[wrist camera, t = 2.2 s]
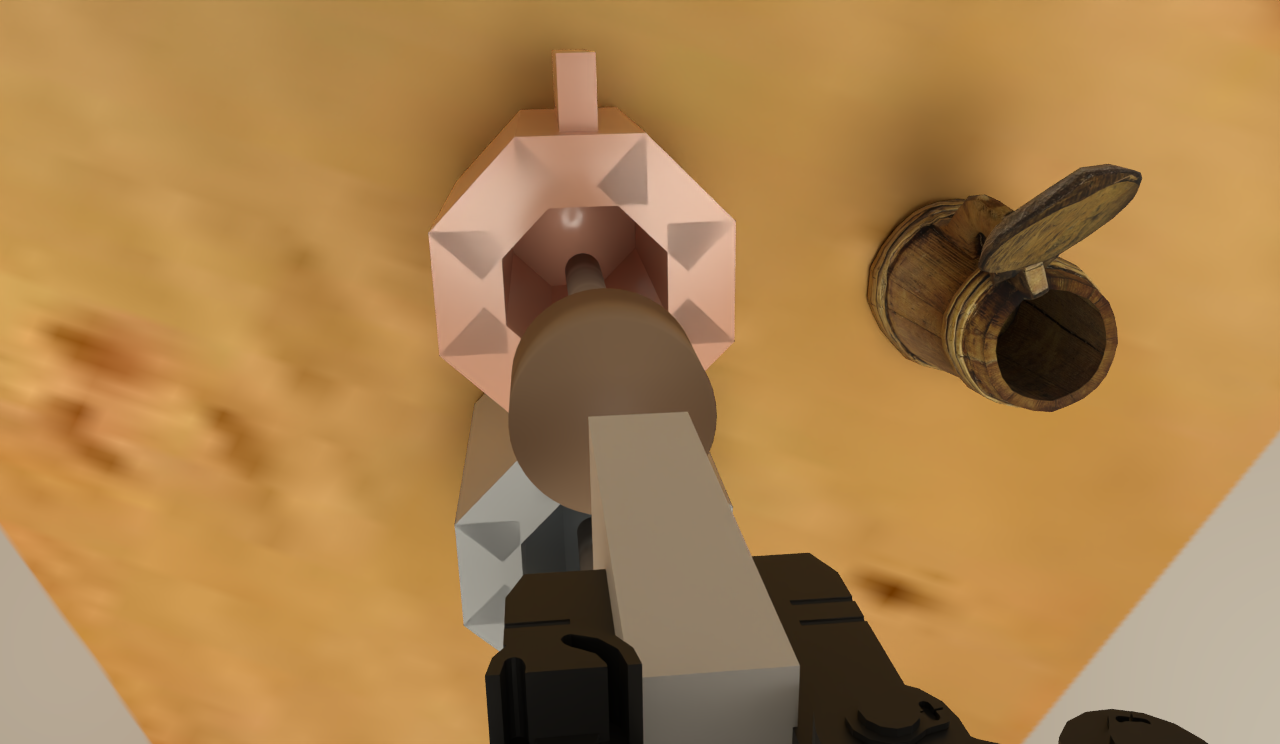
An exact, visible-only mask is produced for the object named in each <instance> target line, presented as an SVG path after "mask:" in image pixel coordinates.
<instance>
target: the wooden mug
mask: <svg viewBox="0 0 1280 744" xmlns="http://www.w3.org/2000/svg"><path fill="white" fill-rule="evenodd" d="M1141 180H1142V176H1141V173H1140V172H1137V171H1134V170H1131V169H1127V168H1123V167H1120V166H1116V165H1111V164H1104V165H1097V166H1089V167H1081V168H1079V169H1078V170H1076V171H1074V172H1073V173H1071V174H1070V175H1068V176H1067V177H1065V178H1064V179H1062V180H1060V181H1059V182H1057V183H1056V184H1054V185H1053V186H1051V187H1050V188H1048V189H1047V190H1045V191H1044V192H1042V193H1041V194H1039V195H1038V196H1036V197H1035V198H1033V199H1032V200H1030V201H1029V202H1027V203H1026V204H1025V205H1023V206H1022V207H1020V208H1019V209H1017V210H1016V211H1013V210H1012V209H1010V208H1009V207H1007V206H1006V205H1004V204H1003V203H1001V202H1000V201H998V200H996V199H994V198H991V197H989V196H987V195H975V196H969V197H968V198H967V199H966V200H962V199H955V200H947V201H940V202H937V203H933V204H930V205H927V206H924V207H922V208H921V209H919V210H917V211H915V212H913V213H912V214H911V215H910V216H909V217H908V218H907V219H905V220H904V221H903V222H902V223H901V224H900V225H899V226H898V227H896V229H895V230H894V231H893V233H892V234H891V235H890V236H889V238H888V239H887V240H886V242H885V243H884V244H883V245H882V247H881V248H880V250H879V252H878V254H877V256H876V258H875V260H874V262H873V264H872V266H871V268H870V278H869V289H868V302H869V305H870V307H871V310H872V312H873V315H874V317H875V319H876V321H877V323H878V325H879V327H880V329H881V331H882V332H883V333H884V334H885V335H886V336H887V338H888V339H889V340H890V341H891V343H892V344H893V345H894V346H895V347H896V348H897V349H898V350H899V351H900V353H901V354H902V355H903V356H904V357H905V358H906V359H909V360H911V361H913V362H916V363H918V364H920V365H923V366H926V367H930V368H934V369H938V370H942V371H946V372H948V373H950V374H953V375H955V376H957V377H959V378H960V379H961V380H962V381H963V382H964V383H965V384H966V386H967V387H968V388H970V389H972V390H974V391H975V392H977V393H979V394H980V395H982V396H984V397H986V398H988V399H990V400H992V401H994V402H996V403H1000V404H1004V405H1008V406H1013V407H1022V408H1026V409H1029V410H1033V411H1046V412H1053V411H1056V410H1058V409H1061V408H1064V407H1066V406H1069V405H1071V404H1073V403H1075V402H1077V401H1079V400H1081V399H1083V398H1085V397H1086V396H1087V395H1088V394H1090V393H1091V392H1092V391H1093V390H1095V389H1096V388H1097V387H1098V386H1099V384H1100V383H1101V382H1102V380H1103V379H1104V378H1105V377H1106V375H1107V373H1108V371H1109V368H1110V366H1111V364H1112V361H1113V359H1114V355H1115V351H1116V347H1117V344H1118V339H1117V327H1116V322H1115V317H1114V314H1113V311H1112V309H1111V306H1110V304H1109V302H1108V301H1107V300H1106V299H1105V297H1104V296H1103V295H1102V294H1101V292H1100V290H1099V289H1098V287H1097V286H1096V285H1095V284H1094V283H1093V282H1092V281H1091V280H1090V279H1089V277H1088V276H1087V275H1086V274H1085V273H1084V272H1083V271H1082V270H1081V269H1080V268H1079V267H1077V266H1076V265H1074V264H1072V263H1070V262H1068V261H1066V260H1064V259H1062V258H1060V257H1058V256H1059V254H1061V253H1062V252H1064V251H1065V250H1067V249H1069V248H1070V247H1072V246H1073V245H1075V244H1077V243H1078V242H1080V241H1081V240H1083V239H1085V238H1086V237H1088V236H1089V235H1090V234H1092V233H1093V232H1095V231H1096V230H1097V229H1099V228H1100V227H1101V226H1103V225H1104V224H1106V223H1107V222H1108V221H1110V220H1111V219H1113V218H1114V217H1115V216H1116V215H1117V214H1118V213H1119V212H1120V211H1121V210H1122V209H1123V208H1125V207H1126V206H1127V205H1128V203H1129V202H1130V201H1131V200H1132V199H1133V198H1134V196H1135V195H1136V193H1137V191H1138V188H1139V186H1140V183H1141Z"/></svg>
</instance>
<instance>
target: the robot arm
mask: <svg viewBox="0 0 1280 744" xmlns="http://www.w3.org/2000/svg"><path fill="white" fill-rule="evenodd" d="M588 422H589V452H590V482H591V512H592V542H593V570H583V571H568V572H552V573H537V574H524V575H523V576H522V577H521V579H520V580H519V581H518V582H517V584H516V585H515V586H514V587H513V589H512V590H511V591H510V593H509V594H508V595H507V596H506V598H505V617H504V637H503V649H502V650H501V651H499V652H498V653H497V654H496V655H495V656H494V657H493V658H492V660H491V662H490V665H489V667H488V670H487V672H486V675H485V682H486V696H487V710H488V723H489V737H490V744H998V743H993V742H989V741H984V740H979V739H976V738H973V737H971V736H970V735H969V733H968V732H967V730H966V729H965V727H964V725H963V724H962V722H961V721H960V719H959V718H958V717H957V716H956V715H955V714H954V713H953V712H952V711H951V710H950V709H949V708H948V707H947V706H946V705H945V704H944V703H943V702H942V701H941V700H939V699H937V698H935V697H933V696H931V695H930V694H928V693H926V692H924V691H922V690H920V689H918V688H914V687H911V686H907V685H905V684H904V683H903V681H902V679H901V678H900V676H899V674H898V673H897V671H896V669H895V668H894V666H893V664H892V663H891V661H890V659H889V658H888V656H887V654H886V652H885V651H884V649H883V647H882V646H881V644H880V642H879V641H878V639H877V637H876V636H875V634H874V632H873V631H872V629H871V627H870V626H869V624H868V622H867V621H864V616H863V614H862V612H861V611H860V609H859V607H858V605H857V604H856V602H855V601H852V595H851V594H850V592H849V590H848V589H847V587H846V585H845V584H844V582H843V580H842V579H841V577H840V575H839V574H838V572H837V571H835V570H834V569H832V568H831V567H829V566H828V565H826V564H825V563H823V562H822V561H820V560H819V559H817V558H816V557H815V556H813V555H812V554H810V553H798V554H783V555H767V556H751V554H750V552H749V549H748V547H747V545H746V543H745V540H744V538H743V536H742V533H741V531H740V529H739V527H738V524H737V522H736V520H735V518H734V515H733V513H732V511H731V509H730V506H729V504H728V502H727V500H726V497H725V495H724V493H723V491H722V488H721V486H720V484H719V481H718V479H717V477H716V475H715V472H714V470H713V468H712V466H711V463H710V461H709V459H708V457H707V454H706V452H705V450H704V448H703V445H702V443H701V441H700V438H699V436H698V434H697V432H696V429H695V427H694V425H693V423H692V420H691V418H690V416H689V414H688V412H671V413H651V414H631V415H612V416H592V417H588ZM1059 744H1208V743H1206V742H1205V741H1204V740H1202V739H1201V738H1199V737H1197V736H1195V735H1194V734H1192V733H1190V732H1188V731H1186V730H1185V729H1183V728H1181V727H1179V726H1178V725H1176V724H1174V723H1171V722H1168V721H1165V720H1162V719H1159V718H1156V717H1153V716H1150V715H1147V714H1144V713H1138V712H1133V711H1123V710H1115V709H1108V710H1099V711H1090V712H1085V713H1083V714H1081V715H1079V716H1077V717H1075V718H1073V719H1072V720H1070V721H1068V722H1067V723H1066V725H1065V727H1064V729H1063V731H1062V733H1061V735H1060V737H1059Z"/></svg>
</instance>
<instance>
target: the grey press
mask: <svg viewBox="0 0 1280 744" xmlns="http://www.w3.org/2000/svg"><path fill="white" fill-rule="evenodd" d="M508 414H509V413H508V412H507V411H506V410H505V409H504V408H502V407H501V406H500V405H499V404H498V403H496V402H495V401H494V400H493V399H491V398H490V397H489V396H488V395H487V394H484V395H483V396H482V397H481V398H480V399H479V400H478V401H477V402H476V403H475V404H474V410H473V416H472V423H471V429H470V435H469V441H468V447H467V453H466V459H465V465H464V471H463V477H462V483H461V489H460V495H459V501H458V507H457V513H456V519H455V532H456V544H457V555H458V566H459V577H460V588H461V599H462V610H463V621H464V626H465V627H467V628H468V629H469V630H471V631H472V632H473V633H475V634H476V635H478V636H479V637H480V638H482V639H483V640H484V641H486V642H487V643H489V644H490V645H491V646H493V647H494V648H496V649H497V650H498V651H501V650H502V649H503V637H504V617H505V598H506V596H507V595H508V594H509V593H510V591H511V590H512V589H513V587H514V586H515V585H516V584H517V582H518V581H519V580H520V579H521V577H522V576H523V575H524V574H537V573H552V572H568V571H580V562H579V550H578V538H577V529H578V526H579V524H580V523H581V522H582V521H583V520H585V519H587V518H590V517H592V515H591V514H586V513H582V512H578V511H575V510H572V509H570V508H567V507H565V506H563V505H561V504H559V503H557V502H555V501H553V500H552V499H550V498H549V497H548V496H546V495H545V494H543V493H542V492H541V491H540V490H539V489H538V488H537V487H536V486H535V485H534V484H533V483H532V482H531V481H530V480H529V478H528V477H527V476H526V475H525V473H524V472H523V470H522V468H521V467H520V465H519V463H518V461H517V459H516V457H515V454H514V452H513V449H512V445H511V442H510V436H509V428H508ZM707 457H708V459H709V461H710V463H711V466H712V468H713V470H714V472H715V475H716V477H717V479H718V481H719V484H720V486H721V488H722V491H723V493H724V495H725V497H726V500H727V502H728V504H729V506H730V509H731V511H732V513H733V506H732V504H731V502H730V499H729V497H728V494H727V492H726V490H725V487H724V485H723V483H722V480H721V478H720V475H719V473H718V471H717V468H716V466H715V463H714V461H713V459H712V456H711V454H710V452H709V454H708V456H707Z"/></svg>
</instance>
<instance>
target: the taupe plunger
mask: <svg viewBox="0 0 1280 744" xmlns="http://www.w3.org/2000/svg"><path fill="white" fill-rule="evenodd" d="M565 275H566V283H567V291H568V296H566V297H564V298H562V299H561V300H559V301H557V302H555V303H553V304H552V305H551V306H549V307H548V308H546V309H545V310H544V311H543V312H542V313H541V314H539V315H538V316H537V317H536V318H535V319H534V321H533V322H532V323H531V324H530V325H529V327H528V328H527V330H526V331H525V333H524V334H523V336H522V338H521V340H520V342H519V344H518V347H517V349H516V352H515V356H514V359H513V365H512V372H511V386H510V400H509V414H508V428H509V436H510V442H511V445H512V449H513V452H514V454H515V457H516V459H517V461H518V463H519V465H520V467H521V468H522V470H523V472H524V473H525V475H526V476H527V477H528V478H529V480H530V481H531V482H532V483H533V484H534V485H535V486H536V487H537V488H538V489H539V490H540V491H541V492H542V493H543V494H545V495H546V496H548V497H549V498H550V499H552V500H553V501H555V502H557V503H559V504H561V505H563V506H565V507H567V508H570V509H572V510H575V511H578V512H582V513H586V514H591V515H592V512H591V482H590V452H589V422H588V417H592V416H612V415H631V414H651V413H671V412H688V414H689V416H690V418H691V420H692V423H693V425H694V427H695V429H696V432H697V434H698V436H699V438H700V441H701V443H702V445H703V448H704V450H705V452H706V454H707V456H708V454H709V451H710V448H711V446H712V443H713V439H714V435H715V430H716V419H717V413H716V402H715V397H714V392H713V389H712V386H711V383H710V381H709V378H708V376H707V374H706V372H705V370H704V368H703V366H702V364H701V362H700V360H699V359H698V357H697V355H696V353H695V351H694V349H693V347H692V345H691V343H690V341H689V339H688V337H687V335H686V333H685V331H684V330H683V328H682V327H681V325H680V324H679V323H678V321H677V320H676V319H675V318H674V317H673V316H672V315H671V314H670V313H669V312H668V311H667V310H666V309H664V308H663V307H662V306H661V305H659V304H658V303H656V302H654V301H653V300H651V299H649V298H647V297H645V296H642V295H640V294H638V293H634V292H631V291H627V290H621V289H614V288H606V286H605V282H604V278H603V275H602V271H601V268H600V265H599V262H598V261H597V259H596V258H595V257H593V256H592V255H589V254H586V253H580V254H576V255H574V256H573V257H571V258H570V259H569V260H568V262H567V264H566V267H565Z"/></svg>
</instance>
